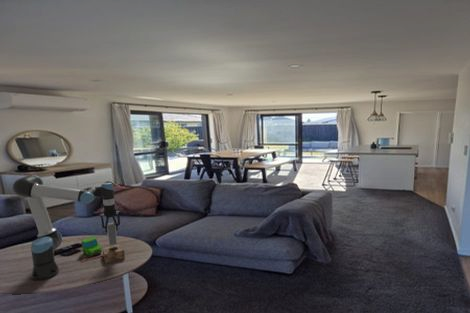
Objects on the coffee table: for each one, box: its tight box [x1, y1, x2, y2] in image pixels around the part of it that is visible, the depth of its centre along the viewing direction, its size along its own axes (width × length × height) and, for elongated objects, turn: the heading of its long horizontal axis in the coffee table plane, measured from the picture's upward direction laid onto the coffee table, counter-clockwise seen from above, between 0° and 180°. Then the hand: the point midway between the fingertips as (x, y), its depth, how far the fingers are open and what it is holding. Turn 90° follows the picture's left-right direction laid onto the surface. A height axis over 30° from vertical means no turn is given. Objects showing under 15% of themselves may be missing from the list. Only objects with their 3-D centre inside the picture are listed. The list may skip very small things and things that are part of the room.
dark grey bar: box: [107, 221, 118, 246], centre depth 211 cm, size 4×4×15 cm
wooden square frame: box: [102, 243, 125, 264], centre depth 213 cm, size 13×13×6 cm
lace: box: [80, 254, 103, 263], centre depth 213 cm, size 17×4×1 cm, turn 130°
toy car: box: [81, 237, 103, 257], centre depth 220 cm, size 10×13×10 cm
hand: (112, 235), depth 212 cm, fingers closed on dark grey bar, 4 cm apart
